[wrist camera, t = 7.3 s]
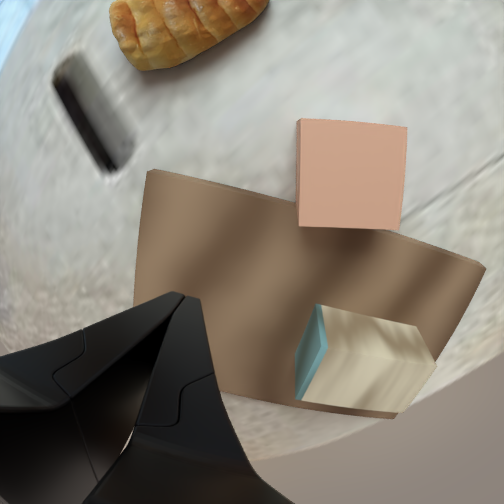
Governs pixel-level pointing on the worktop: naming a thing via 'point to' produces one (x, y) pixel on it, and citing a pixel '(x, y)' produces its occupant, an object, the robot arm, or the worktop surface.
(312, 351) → the maple block
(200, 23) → the pastry
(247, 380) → the walnut board
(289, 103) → the worktop surface
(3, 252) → the worktop surface
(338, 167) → the terracotta cube
